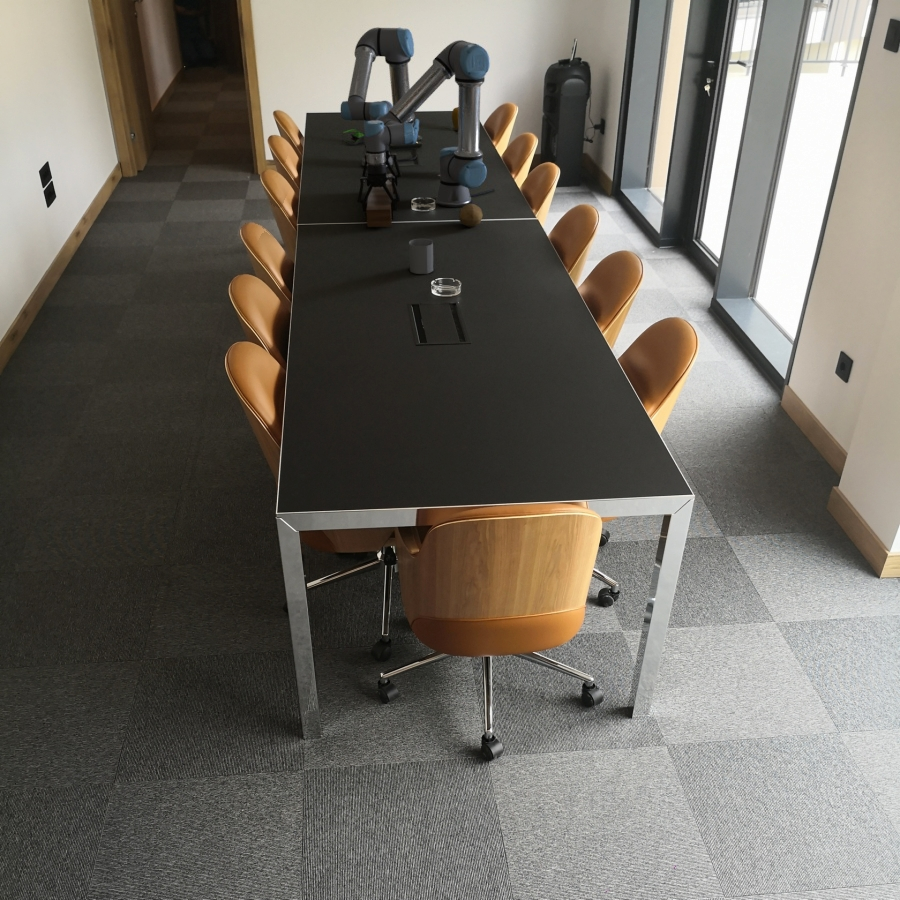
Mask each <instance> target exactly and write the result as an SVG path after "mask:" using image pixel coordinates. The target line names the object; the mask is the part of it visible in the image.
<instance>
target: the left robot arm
mask: <svg viewBox="0 0 900 900" xmlns="http://www.w3.org/2000/svg"><path fill="white" fill-rule="evenodd" d="M414 54H415V43H414V37H413V34H412V32H411V30H410V29H409V28H403V27H379V26H378V27H372V28H370V29H368V30H367V31H366V32H364V34H362V35H361V37H360V38H359V39H358V41H357V43H356V45H355V49H354V57H355V60H354V65H353V70H352V75H351V81H350V87H349V91H348V96H347V100H343V101H341V104H340V116H341V118H342V120H345V121H363V133H364V141H363V142H364V151H363V155H362V159H361V166H362V167H363V170H362V174H361V177H367V175H368V173H367V164H368V163H367V157H366V142H365V123H366V122H368V121H372V120H376V119H377V118H378V117H379V116H382V115H386V114H387V113H388V112H389V111H390V110H391V108H392V107H393V106H394V105H395V104H396V103H397V102H398V101H399V100H400V99H401V98H402V97H403V96H404V95H405V94H406V92H407V91H408V90H409V89H410V88H411V87H410V86H411V85H410V75H409V63H411V60H412V58H413V56H414ZM377 57H384V61H385V63H386V64H387V65H388V67H389V79H390V89H391V91H390V92H391V101H392V103H391V102H390V101H388V100H381V101H380V100H379V101H377V100H376V101H367V96H368V95H367V94H368V89H369V85H370V84H369V83H370V78H371V73H372V68H373V63H374V62H376V58H377ZM405 123H411V124H412V126H413V128H414V133H415V137H414V140H413V142H411V143H407V144H405V145H406V146H408V145H415V144H416V143H417V141H418V136H419V129H420V120H419V119H418V118H416V115H415V112H414V113H413V114H412V115H411V117H410V118H409V119H408V120H407V121H406V122H405ZM385 151H386V162H385V163H386V169H387V168H388V169H389V172H390V174H392V175H393V176H395V184H396V187H398V179H399V178H401V177H402V173H401V169H400V166H399V162H407V161H408V162H409V161H413V160H415V159H417V158H418V154H415V155H414V157H411V158H397V157H398V156H397V155H398V154H397V153H396V152H394V153H391V152H390V151H391V150H390V146H385ZM393 166H394V167H395V170H394V167H393ZM366 173H367V174H366ZM369 185H370V183H369V182H368V181H367V180H366V187H369ZM393 195H395V193H394V190H393Z"/></svg>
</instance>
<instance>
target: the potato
mask: <svg viewBox="0 0 900 900" xmlns="http://www.w3.org/2000/svg"><path fill="white" fill-rule="evenodd" d="M483 216H484V214H483V211H482V209H481V207H479V206H478V205H476V204H474V203H470V204H467V205H464V206H462V207H461V209H460V211H459V213H458V220H459V221H460V223H461V224H462V225H464V226H466V227H468V228H473V227H476V226H477V225H479V224H481V222H482V219H483Z"/></svg>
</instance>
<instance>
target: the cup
mask: <svg viewBox="0 0 900 900" xmlns="http://www.w3.org/2000/svg"><path fill="white" fill-rule="evenodd" d="M408 253H409V272H411V273H412V274H416V275H426V274H430V273H432V272H434V241H433V240H431V239H428V238H422V237H421V238H420V237H419V238H414V239H411V240H410V241H409V242H408Z"/></svg>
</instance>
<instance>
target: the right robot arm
mask: <svg viewBox="0 0 900 900" xmlns="http://www.w3.org/2000/svg"><path fill="white" fill-rule="evenodd" d="M490 65H491V59H490V55H489V53H488V51H487V50H486V49H485V47H483V46H481V45H480V44H477V43H474V42H470V41H466V40H462V39H460V40H459V39H458V40H454V41H453V42H451V43H449V44H448V45H446V47H445V48H443V49H442V50H441V51H440V52H439V53H438V54H437V55H436V56H435V58H434V59H433V60H432V65H431V66H429V68H428V69H427V70H426V71H425V72H424V73H423V74H422V75H421V76H420V78H418V80H417V81H416V82H414V83H413V85H412V86H411V87H410V89H409V90H408V91H407V92H406V94H405V95H404V96H403V97H402V98H401V99H400V100H399V101H398V102H397V103H396V104H395V105H394V106H393V105H392V106H393V107H392V108H391V110H390V111H389V112H388V113H387V114H386V115H382V116H379V117H378V118H377V119H376V120H372V121H368V122H366V123H365V142H366V157H367V163H368V164H367V169H366V173H367V174H368V175H367V174H366V175H367V177H362V176H360V178H359V182H360V185H359V189H358V196H357V203H358V204H361V205H362V212H363V213H365V221H366V222H367V214H366V208H367V202H368V196H369V194H370V192H371V190H372V188H373V187H374V188H376V187H383V188H384V190H385V191H386V193H387V194H388V196H389V198H390V199H391V201H392V202H391V217H392V221H394V219H395V218H394V217H395V216H394V212H396V211H397V203H399V202H400V201H401V197H400V194H399V191H398V186H396V184H395V176H392V177H391V176H388V175H387V174H388V173H387V172H388V171H387V168H386V163H385V162H386V151H385V146H389V147H390V146H399V145H406V144H407V143H411V142H413V140H414V137H415V133H414V128H413V126H412V124H411V123H405V122H406V121H407V120H408V119H409V118H410V117H411V115H412V114H413V113H414V114H415V113H416V112H417V111H418V109H420V107H422V105H423V104H424V103H425V102H426V101H427V100H428V99H429V98H430V97H431V96H432V95H433V94H434V92H436V91H437V90H438V88H439V87H440V86H441V85H442V84H444V82H445V81H446V80H451V79H452V78H453V76H454V82H455V83H456V84H457V86H458V102H457V103H458V105H457V107H458V131H457V146H448V147H444V148H441V150H440V152H439V175H440V176H439V186H438V190H437V195H436V196H435V204H437V205H439V206H441V207H446V208H462V207H463V206H464V205H467V204H472V197H478V196H481V195H484V194H485V195H486V194H488V193H492V192H495V188H491V189H488V190H484V191H481V192H478V193H470V189H476V188H478V187H480V186H481V185H482V184H483V183H484V182H485V180H486V178H487V175H488V174H487V173H488V171H487V165H485V163H484V162H483V157H484V154H483V151H482V149H480V126H481V125H480V123H481V122H480V121H481V87H482V85H483V84H484V83H485V79H486V78H485V77H486V75H487V73H488V72H489V70H490ZM365 142H364V143H365ZM387 180H389V181H390V182H392V187H393V190H394V193H395V194H393V195H392V193H391V191H390V190H389V188H388V187H387V185H386V181H387ZM367 181H368V182H369V183H370V185H369V186H368V188H367V190H366V192H365V194H364V196H363V191H364V185H365V184H366V183H367ZM362 196H363V198H362Z"/></svg>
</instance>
